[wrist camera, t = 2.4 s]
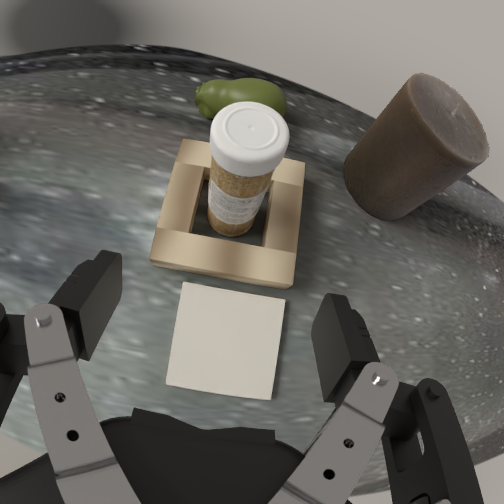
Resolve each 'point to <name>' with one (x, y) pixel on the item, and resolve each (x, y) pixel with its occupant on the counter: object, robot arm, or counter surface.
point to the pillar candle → (414, 149)
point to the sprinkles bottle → (243, 163)
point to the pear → (238, 95)
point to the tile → (225, 342)
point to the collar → (223, 251)
